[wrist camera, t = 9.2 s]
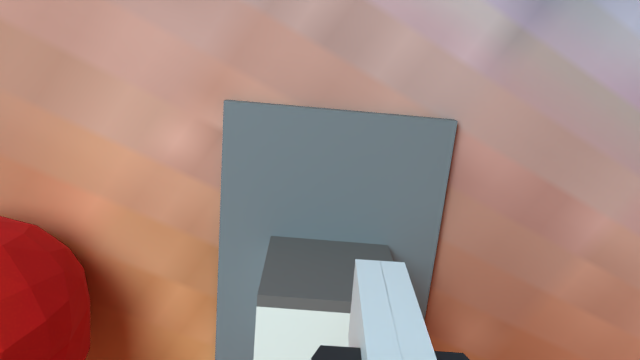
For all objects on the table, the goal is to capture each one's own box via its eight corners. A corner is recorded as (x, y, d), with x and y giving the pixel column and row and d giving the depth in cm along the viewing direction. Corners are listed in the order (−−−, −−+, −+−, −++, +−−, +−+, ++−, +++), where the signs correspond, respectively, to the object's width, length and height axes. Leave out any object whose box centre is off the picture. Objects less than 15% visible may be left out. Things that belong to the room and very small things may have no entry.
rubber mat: (454, 119, 28) (457, 121, 27) (391, 502, 35) (393, 509, 35) (225, 99, 27) (223, 101, 27) (212, 491, 35) (210, 498, 34)
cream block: (409, 306, 22) (389, 430, 24) (387, 245, 29) (373, 346, 31) (257, 294, 22) (249, 421, 24) (270, 235, 29) (264, 338, 31)
